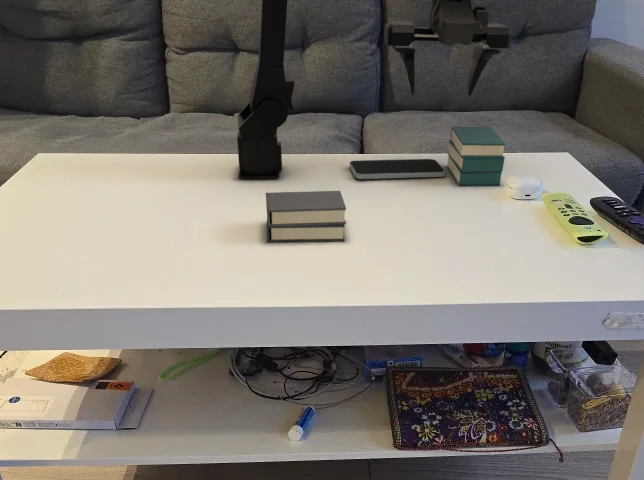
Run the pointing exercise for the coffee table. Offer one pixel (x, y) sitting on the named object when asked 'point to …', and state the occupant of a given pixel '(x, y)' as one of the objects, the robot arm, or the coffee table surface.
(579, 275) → the coffee table surface
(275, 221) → the grey book
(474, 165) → the teal book
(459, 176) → the teal book
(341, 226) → the grey book
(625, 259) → the coffee table surface
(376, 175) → the smartphone
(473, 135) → the teal book
